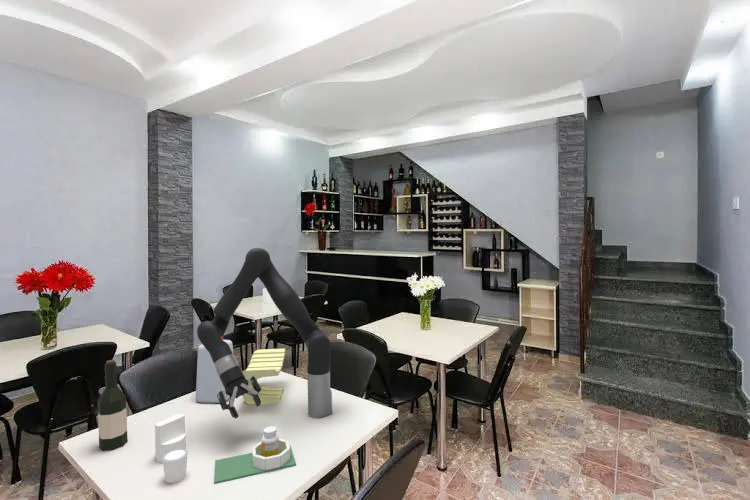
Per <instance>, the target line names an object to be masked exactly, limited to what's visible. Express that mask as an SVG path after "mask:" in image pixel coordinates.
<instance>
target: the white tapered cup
mask: <svg viewBox="0 0 750 500" xmlns="http://www.w3.org/2000/svg"><path fill="white" fill-rule="evenodd" d="M162 460H163V463H162V467H163V474H164V480H165V482H166V483H168V484H173V483H174V484H175V483H178V482H180V481H182V480H184V479H185V478H186V476H187V466H188V465H187V464H188V450H187V449H186V450H185V449H175V450H172V451H169V452H168V453H166V454H165V455H164V456H163V458H162Z"/></svg>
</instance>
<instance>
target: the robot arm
mask: <svg viewBox="0 0 750 500" xmlns="http://www.w3.org/2000/svg"><path fill="white" fill-rule="evenodd" d="M257 279H259V281H260V282H262V284H263V286H264V287H265V289H266V291H267V293H268V295H269V297H270V299H271V301H272V302H273V303H274V305H275V306H276V308H277V309H278V311H280V313H281V315H283V317H284V318H285V319H286V320H287V322H288V323H290V324H291V326H293V328H295V329H296V330H297V332H298V333H299V335H300V336H301V338H302V340H303V342H304V344H305V345H306V349H307V368H306V370H307V371H306V372H307V373H306V374H307V375H306V376H307V377H306V378H307V414H308V416H309V417H312V418H314V419H315V418H319V419H320V418H324V417H327V416H329V415H331V414H333V396H332V395H333V392H332V389H331V364H332V344H331V340H330V338H329V337H328V335H327V334H326V333H324V332H323V330H322V329H321V328H320V327H319V326H318V325H317V324H316V322H315V321H314V320H313V319H312V318H311V315H310V313H309V311H308V310H307V307H306V306H305V304H304V303H303V301H302V299H301V298H300V296H299V295H298V293H297V292H296V290H294V288H293V287H292V286H291V285H290V284H289V282H287V280H286V279H284V278H283V276H282V275H281V274H280V273H279V271H278V270H277V269H276V267H275V265H274V264H273V262H272V260H271V256H270V253H269V252H268V251H267V250H266V249H265V248H262V247H254V248H252V249H249V251H247V253H246V255H245V257H244V262H243V264H242V267H241V269H240V271H239V273H238V275H237V276H236V278H235V279H234V281H232V283H231V284H230V286H229V287H228V288H227V289H226V291H225V292H224V293H223V294H222V296H221V297H220V298H219V301H218V302H217V303H216V304H215V307H214V308H213V314H214V316H213V319H212V320H205V321H201V322H200V323H199V324H198V326H197V328H196V335H197V339H198V340H199V341H200V343H201V344H203V346H204V347H205V348H206V350H207V351H208V352H209V353H210V356H211V358H212V360H213V362H214V365H215V368H216V371H217V374H218V375H219V377H220V380H221V382H222V384H223V386H224V388H225V391H220V392H219V393H218V394H217V397H218V400H219V402H220V403H219V404H220V409H221V410H222V411H225V410H228V411H229V413H230V415H231V417H232V418H233V419H238V418H239V413H238V411H237V408H236V407H235V406H234V404H235V400H236V399H238V398H240V397H242V395H244V394H247V395H251V396H253V400H254V402H255V404H254V405H255V406H256V408H259V407H260V406H261V405H262V404H261V400H260V398H259V396H258V393H259V392H260V391H261V387H262V386H261V385H260V384H259V382H258V379H257V380H256V378H255V377H254V376H252V377H251V378H250V379H248V380H246V379H245V377H244V374H243V372H242V371H243V370H242V368H241V366H240V364H239V361H238V360H237V357H235V355H233V354H234V352H233V353H232V351H231V349H230V347H229V345H228V343H226V342H225V341H223V340H224V339H223V337H224V335H225V333H226V331H227V329H228V326H229V324H230V321H231V319H232V317H233V315H234V314H235V312H236V311H237V310H238V307H239V306H240V305H241V302H242V301H243V299H244V298H245V296H246V294H247V293H248V291H249V289H251V287H252V285H253V284H254V282H255V281H256V280H257ZM221 337H222V339H221ZM248 383H250V384H252V386H253V388H254V390H253V389H252V388H251V387H249V386H248ZM260 386H261V387H260ZM225 394H227V395H229V396H230V398H229V399H228V403H227V401H226V400H225Z"/></svg>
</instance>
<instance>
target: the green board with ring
mask: <svg viewBox="0 0 750 500" xmlns="http://www.w3.org/2000/svg"><path fill="white" fill-rule="evenodd" d="M214 462H215V463H214V476H213V478H214V480H213V484H214V485H215V484H219V483H220V484H221V483H224V482H228V481H232V480H237V479H243V478H247V477H251V476H256V475H259V474H260V475H261V474H264V473H269V472H273V471H278V470H281V469H286V468H291V467H294V466H295V467H296V466H297V463H296V459H295V455H294V453H293V450H292V446H291V444H290V442H289V441H288V440H287V439H283V438H279V455H274V456H270V457H263V456H262V440H261V441H260V442H258V443H257V444H255V445H254V446H252V448H251V452H250V453H245V454H238V455H235V456H229V457H226V458H220V459H216V460H214Z"/></svg>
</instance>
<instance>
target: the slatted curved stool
mask: <svg viewBox="0 0 750 500" xmlns="http://www.w3.org/2000/svg"><path fill="white" fill-rule="evenodd" d="M285 356H286V348H270V349H268V348H267V349H266V348H264V349H256V350H255V351H253V353H252V354H251V358H250V360H249V363H248V366H247V368H246V369H245V370H242V372H243V374H244V377H245V379H246V380H248V379H250V378H251V377H252V376H254V377H255V378H256V380H257V381H258V380H259V379H261V378H268V377H277V376H279V375H280V373H281V371H282V368H283V367H284V364H283V363H284V362H285V361H284V360H285ZM248 386H249V387H251V388H252V389H253V390H254V388H253V386H252V384H250V383H248ZM259 386H260V387H261V391H260V392H259V393H258V396H259V398H260V400H261V405H264V404H267V405H268V404H279V403H280V401H281V398H282V396H283V393H284V387H265V386H261V385H259ZM241 397H242V399H243V401H244V403H246V404H248V405H256V404H255V402H254V400H253V396H251V395H247V394H244V395H242V396H241Z"/></svg>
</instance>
